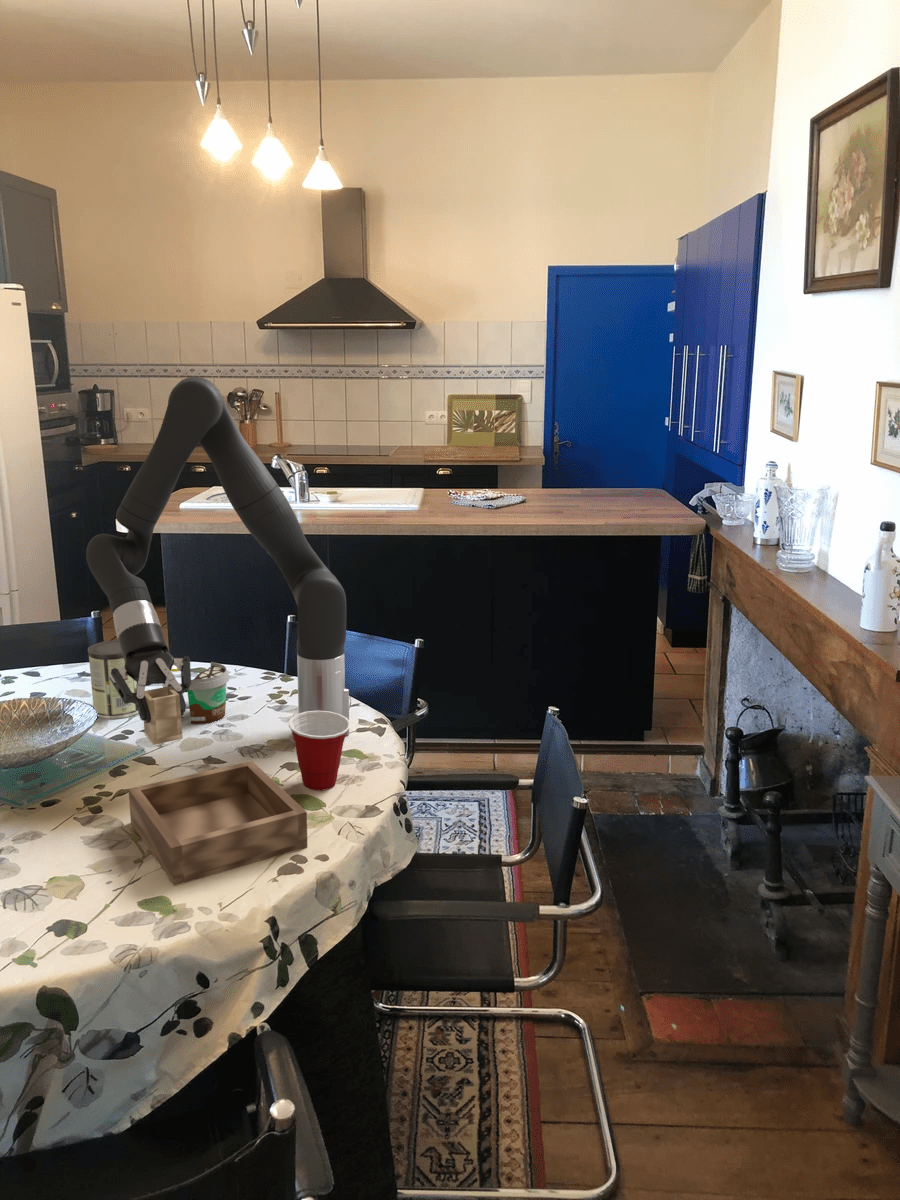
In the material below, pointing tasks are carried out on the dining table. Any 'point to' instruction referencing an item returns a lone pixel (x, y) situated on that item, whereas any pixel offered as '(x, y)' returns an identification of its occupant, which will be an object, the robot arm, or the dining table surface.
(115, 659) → the coffee can
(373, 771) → the dining table surface
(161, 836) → the crate
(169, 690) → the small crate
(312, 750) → the plastic cup
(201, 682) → the food container
